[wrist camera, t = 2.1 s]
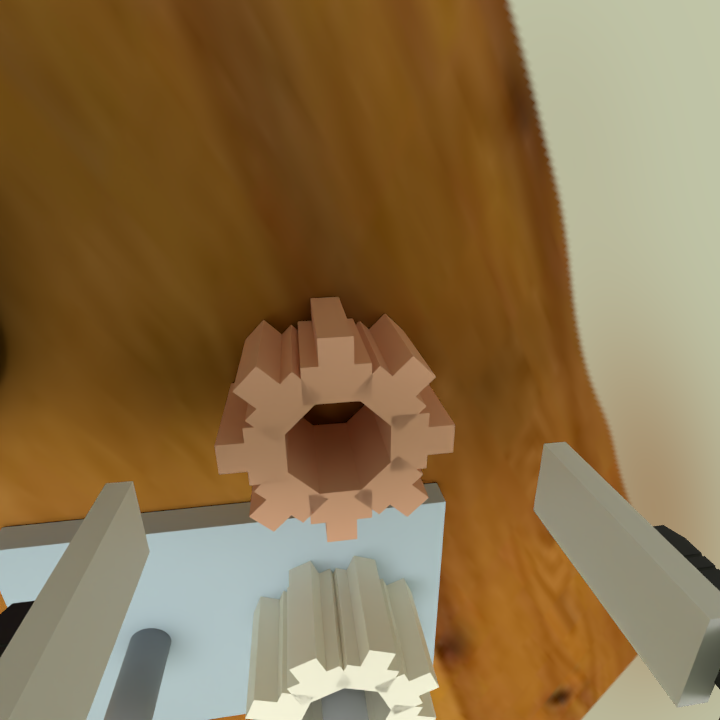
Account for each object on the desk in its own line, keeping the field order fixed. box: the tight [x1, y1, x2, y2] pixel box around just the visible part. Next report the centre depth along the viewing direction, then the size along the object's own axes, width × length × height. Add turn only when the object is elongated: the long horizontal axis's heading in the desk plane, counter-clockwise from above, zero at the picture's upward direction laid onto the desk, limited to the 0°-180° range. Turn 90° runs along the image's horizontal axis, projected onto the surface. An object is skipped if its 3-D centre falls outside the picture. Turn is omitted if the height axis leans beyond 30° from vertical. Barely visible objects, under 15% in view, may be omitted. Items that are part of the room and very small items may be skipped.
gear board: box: [0, 483, 446, 720], centre depth 22 cm, size 14×21×8 cm, turn 91°
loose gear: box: [215, 297, 455, 542], centre depth 19 cm, size 9×9×5 cm
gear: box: [245, 556, 439, 720], centre depth 22 cm, size 9×9×5 cm
